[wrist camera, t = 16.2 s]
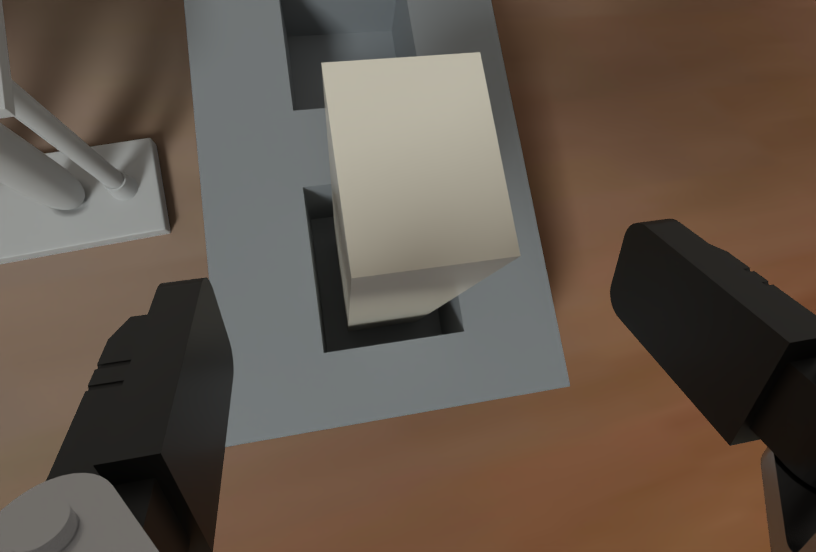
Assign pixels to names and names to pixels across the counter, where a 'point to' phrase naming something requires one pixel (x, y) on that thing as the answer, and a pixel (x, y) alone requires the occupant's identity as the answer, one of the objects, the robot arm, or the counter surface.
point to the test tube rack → (70, 183)
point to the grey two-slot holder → (315, 233)
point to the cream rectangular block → (414, 184)
